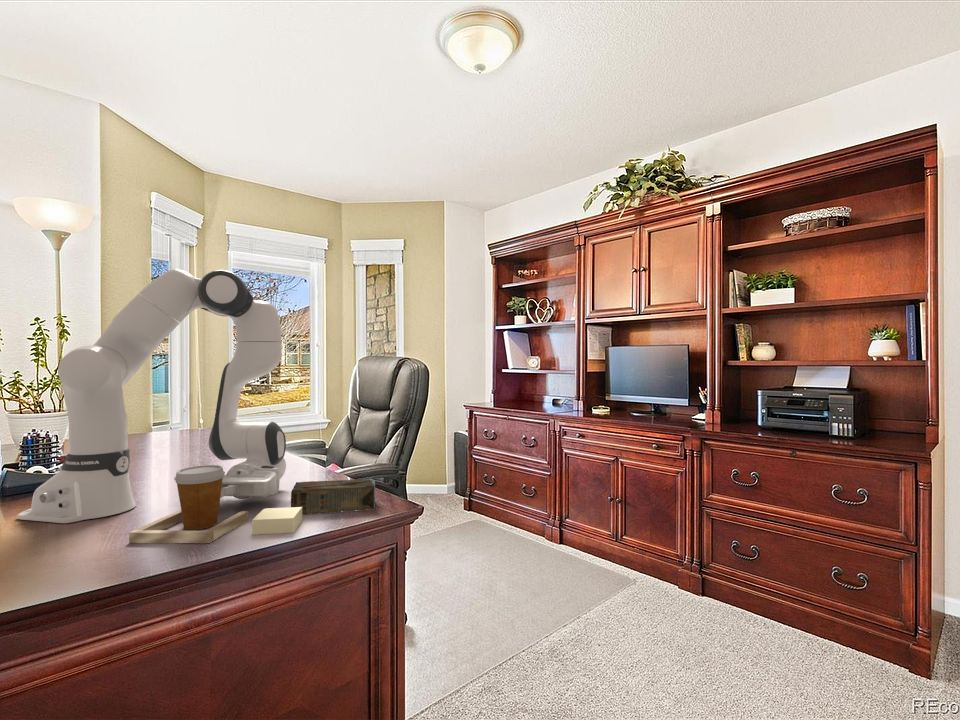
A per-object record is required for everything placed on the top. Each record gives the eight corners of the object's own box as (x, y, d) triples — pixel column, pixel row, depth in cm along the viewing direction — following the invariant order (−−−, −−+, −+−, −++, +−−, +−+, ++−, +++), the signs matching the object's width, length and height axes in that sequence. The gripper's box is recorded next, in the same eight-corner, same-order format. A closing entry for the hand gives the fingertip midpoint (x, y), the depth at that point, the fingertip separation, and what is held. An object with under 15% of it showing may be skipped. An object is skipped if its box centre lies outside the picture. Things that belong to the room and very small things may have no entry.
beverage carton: (375, 511, 118) (375, 483, 118) (289, 517, 113) (289, 488, 113) (375, 502, 125) (374, 475, 125) (294, 507, 121) (293, 480, 121)
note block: (252, 534, 101) (252, 519, 101) (264, 522, 109) (264, 508, 109) (293, 532, 102) (293, 518, 102) (302, 520, 110) (302, 506, 110)
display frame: (129, 542, 97) (129, 532, 97) (178, 519, 111) (177, 510, 111) (209, 543, 96) (209, 533, 96) (247, 520, 111) (247, 511, 111)
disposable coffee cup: (193, 517, 112) (192, 464, 112) (234, 518, 112) (233, 464, 112) (164, 532, 103) (163, 474, 103) (208, 533, 102) (207, 474, 102)
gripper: (204, 467, 125) (168, 480, 111) (284, 467, 124) (257, 480, 111) (205, 492, 125) (168, 508, 111) (285, 492, 124) (257, 508, 111)
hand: (213, 494), depth 111 cm, fingers closed, pressing on disposable coffee cup
